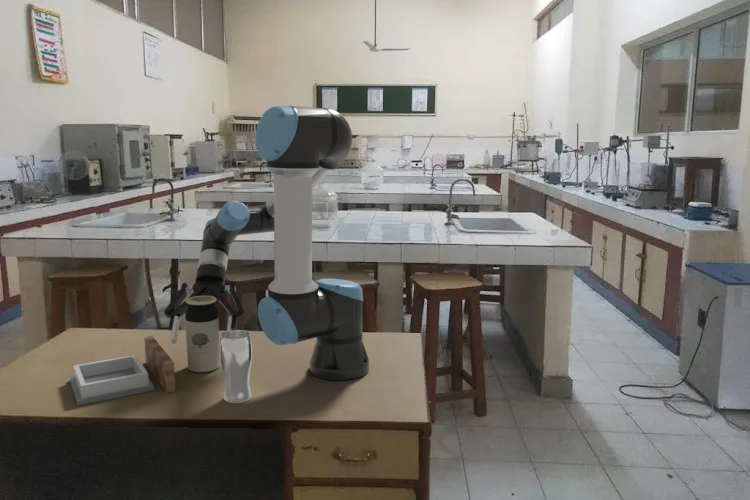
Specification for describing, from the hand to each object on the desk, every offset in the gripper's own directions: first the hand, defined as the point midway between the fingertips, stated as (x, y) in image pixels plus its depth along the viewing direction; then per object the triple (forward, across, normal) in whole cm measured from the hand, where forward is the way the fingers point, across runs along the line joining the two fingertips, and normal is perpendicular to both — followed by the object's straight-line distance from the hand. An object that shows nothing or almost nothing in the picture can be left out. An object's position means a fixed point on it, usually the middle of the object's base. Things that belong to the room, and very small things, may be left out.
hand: (200, 341), depth 147 cm
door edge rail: (+8, +10, -3) cm, 13 cm away
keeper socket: (+12, +19, +1) cm, 22 cm away
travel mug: (+4, 0, -7) cm, 8 cm away
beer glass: (+17, -12, +6) cm, 22 cm away
